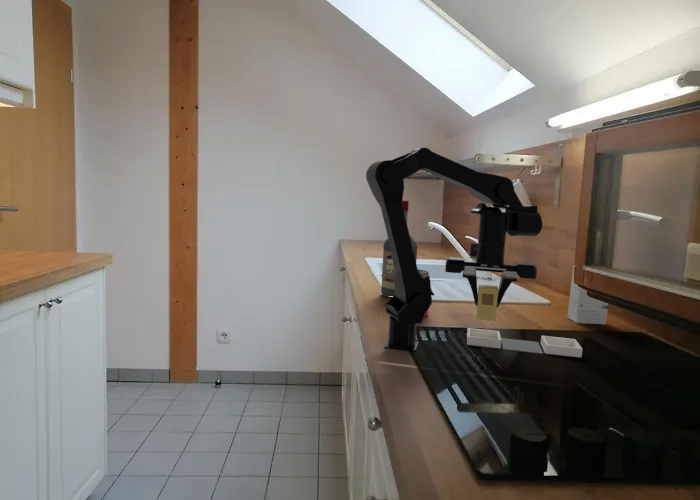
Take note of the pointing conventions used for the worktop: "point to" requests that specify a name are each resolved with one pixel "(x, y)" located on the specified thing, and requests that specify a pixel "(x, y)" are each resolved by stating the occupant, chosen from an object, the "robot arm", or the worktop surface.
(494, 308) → the tan carton
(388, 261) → the liquor
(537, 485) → the worktop surface
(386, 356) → the worktop surface
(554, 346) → the white square tray
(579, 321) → the skincare box
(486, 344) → the shallow white dish
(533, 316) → the worktop surface
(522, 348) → the slate coaster
